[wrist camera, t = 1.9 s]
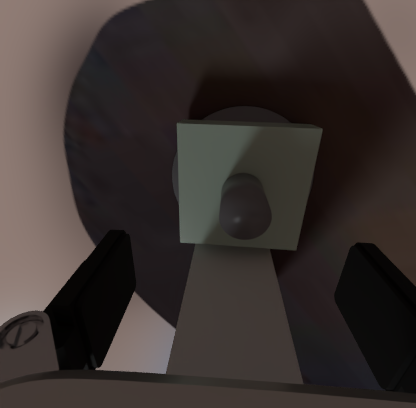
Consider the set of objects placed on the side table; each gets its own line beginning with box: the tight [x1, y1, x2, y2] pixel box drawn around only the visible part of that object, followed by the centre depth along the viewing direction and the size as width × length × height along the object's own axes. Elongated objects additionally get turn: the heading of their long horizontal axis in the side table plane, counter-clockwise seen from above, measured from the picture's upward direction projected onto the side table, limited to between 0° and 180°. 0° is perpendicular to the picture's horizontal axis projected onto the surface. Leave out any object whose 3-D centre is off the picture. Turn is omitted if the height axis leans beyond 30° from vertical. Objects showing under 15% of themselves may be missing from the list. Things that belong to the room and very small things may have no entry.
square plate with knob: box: [177, 119, 323, 250], centre depth 18 cm, size 10×10×7 cm
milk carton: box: [166, 243, 303, 384], centre depth 17 cm, size 7×7×19 cm
